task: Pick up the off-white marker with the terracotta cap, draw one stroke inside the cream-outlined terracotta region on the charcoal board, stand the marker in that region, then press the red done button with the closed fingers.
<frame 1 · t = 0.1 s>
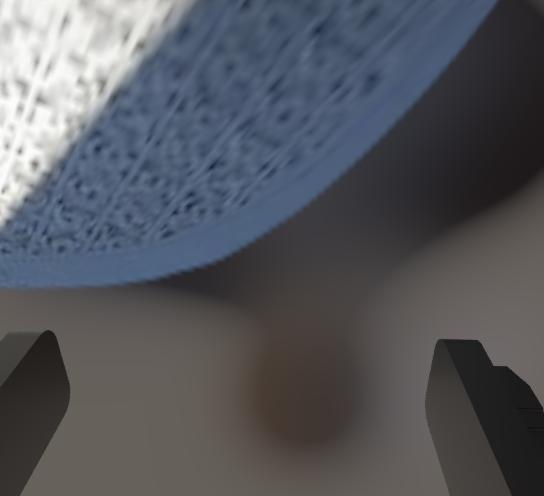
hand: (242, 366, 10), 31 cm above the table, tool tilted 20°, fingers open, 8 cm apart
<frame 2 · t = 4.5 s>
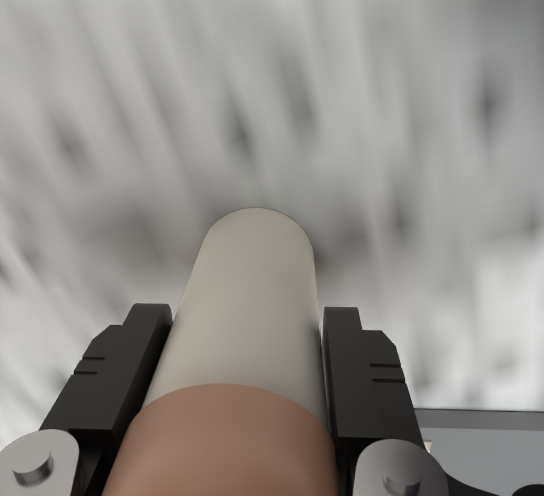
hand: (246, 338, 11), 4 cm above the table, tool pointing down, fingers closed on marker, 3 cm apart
marker: (257, 259, 14), on the table, touching gripper
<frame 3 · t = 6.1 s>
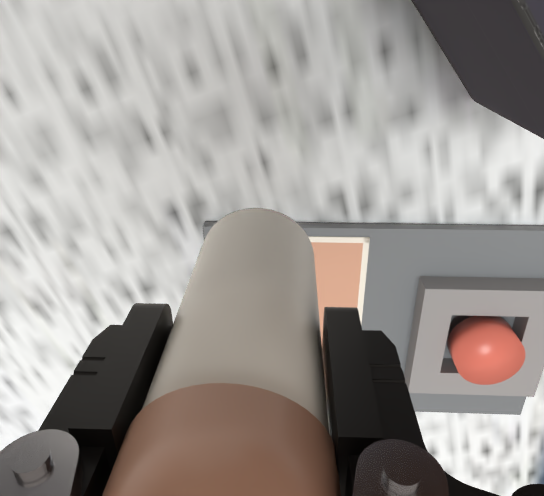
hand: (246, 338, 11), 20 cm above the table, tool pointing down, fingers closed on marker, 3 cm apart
marker: (257, 260, 14), point 16 cm above the table, touching gripper
board: (374, 322, 34), on the table
done button: (484, 349, 32), point 3 cm above the table, slide at 0.0 cm
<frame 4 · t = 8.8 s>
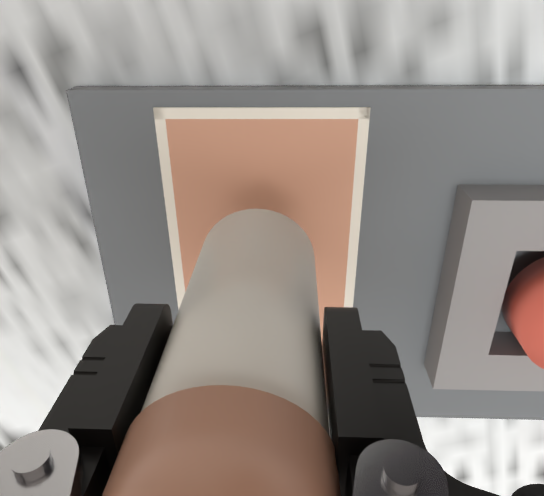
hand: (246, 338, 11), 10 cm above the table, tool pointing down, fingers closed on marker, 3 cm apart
marker: (257, 260, 14), point 6 cm above the table, touching gripper
board: (377, 273, 21), on the table
when the fingers open (6 cm above the table, at t = 13.0 s): marker drops 1 cm, resting on board.
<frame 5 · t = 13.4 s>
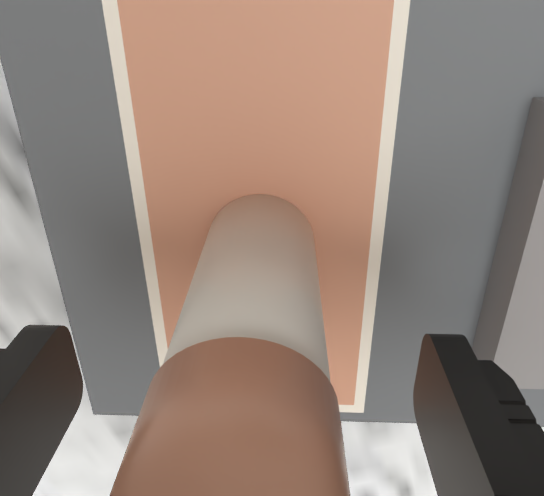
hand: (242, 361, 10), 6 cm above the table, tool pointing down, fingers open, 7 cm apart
marker: (261, 243, 15), point 1 cm above the table, touching board
board: (411, 232, 16), on the table
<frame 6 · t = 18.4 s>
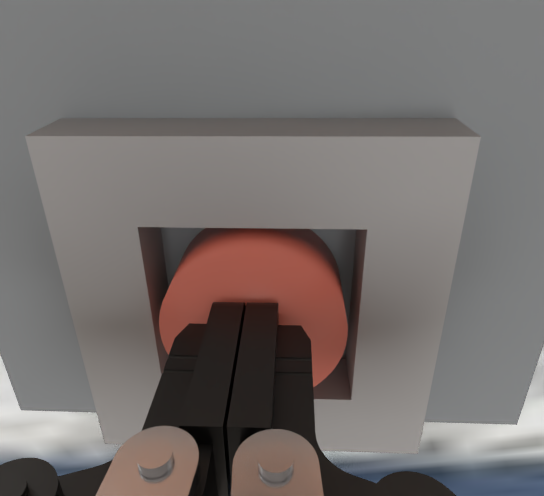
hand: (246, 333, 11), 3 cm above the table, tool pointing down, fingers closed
done button: (256, 308, 12), point 2 cm above the table, slide at 1.0 cm, touching gripper
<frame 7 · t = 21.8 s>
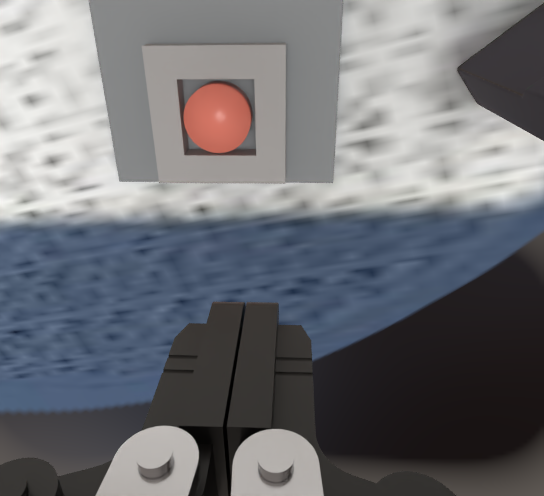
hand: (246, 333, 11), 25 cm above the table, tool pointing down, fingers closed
dark grey upright block: (542, 31, 30), on the table
done button: (219, 116, 32), point 2 cm above the table, slide at 1.0 cm
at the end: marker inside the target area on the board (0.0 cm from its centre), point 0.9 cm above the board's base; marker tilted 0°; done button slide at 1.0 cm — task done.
